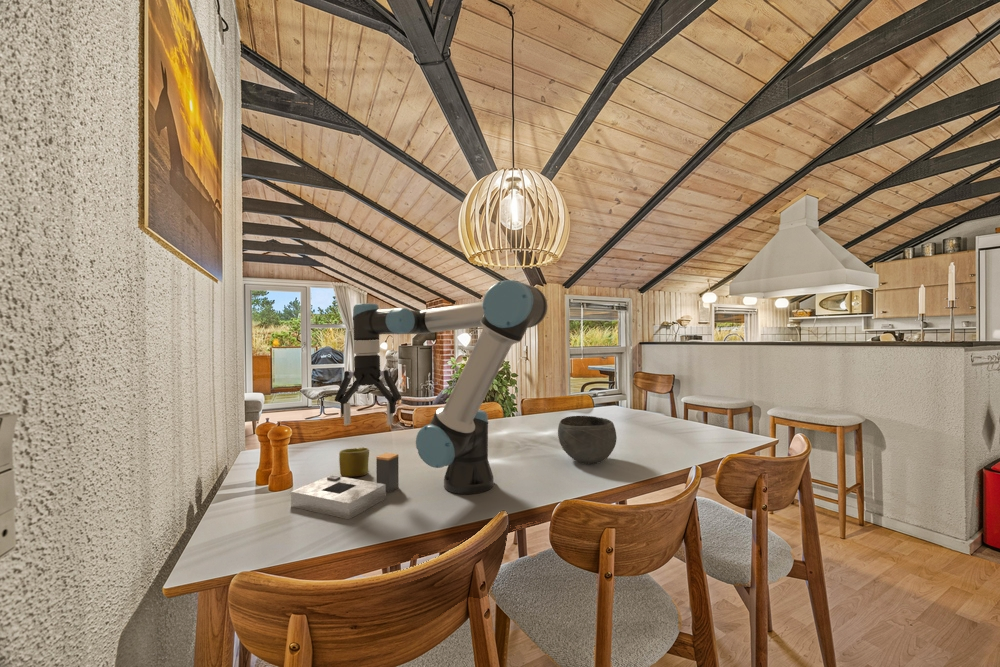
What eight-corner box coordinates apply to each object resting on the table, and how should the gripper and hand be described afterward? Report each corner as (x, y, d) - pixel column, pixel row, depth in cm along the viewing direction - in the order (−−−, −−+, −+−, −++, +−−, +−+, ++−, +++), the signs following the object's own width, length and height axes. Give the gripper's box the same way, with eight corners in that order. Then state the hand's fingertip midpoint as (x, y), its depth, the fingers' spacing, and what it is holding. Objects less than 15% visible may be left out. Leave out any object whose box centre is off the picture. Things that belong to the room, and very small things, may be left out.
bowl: (580, 450, 161) (580, 412, 162) (628, 462, 146) (628, 420, 146) (545, 461, 147) (545, 419, 147) (594, 475, 132) (594, 429, 132)
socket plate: (385, 498, 114) (385, 482, 114) (349, 519, 101) (349, 500, 101) (331, 488, 121) (331, 472, 121) (290, 506, 108) (290, 489, 108)
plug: (398, 487, 122) (398, 454, 122) (388, 492, 118) (388, 458, 118) (386, 485, 124) (386, 452, 124) (376, 490, 119) (376, 456, 119)
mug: (362, 475, 127) (356, 443, 129) (334, 483, 129) (329, 452, 131) (383, 470, 138) (377, 441, 141) (357, 478, 140) (352, 449, 143)
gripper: (410, 353, 126) (412, 421, 125) (334, 355, 129) (336, 422, 128) (402, 353, 118) (403, 426, 118) (321, 356, 121) (323, 427, 121)
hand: (368, 424), depth 123 cm, fingers open, 13 cm apart
